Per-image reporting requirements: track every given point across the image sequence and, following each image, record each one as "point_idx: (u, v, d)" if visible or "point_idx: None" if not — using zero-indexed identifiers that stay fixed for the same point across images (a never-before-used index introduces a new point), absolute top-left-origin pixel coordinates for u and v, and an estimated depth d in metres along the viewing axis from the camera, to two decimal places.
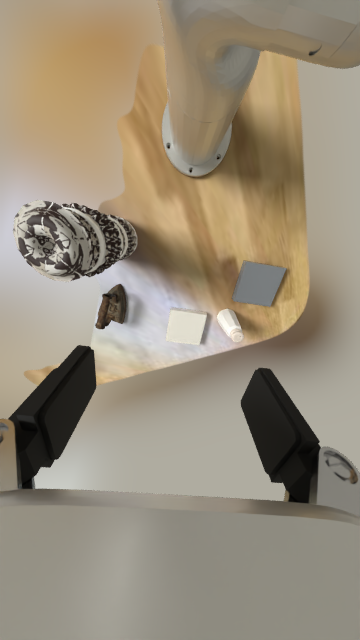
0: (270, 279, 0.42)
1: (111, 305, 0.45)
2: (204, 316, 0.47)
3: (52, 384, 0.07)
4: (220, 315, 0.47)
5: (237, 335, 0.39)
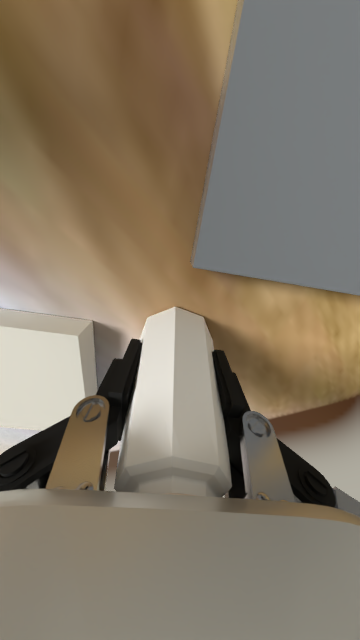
0: None
1: None
2: (68, 342, 0.10)
3: (125, 369, 0.08)
4: (141, 338, 0.11)
5: None
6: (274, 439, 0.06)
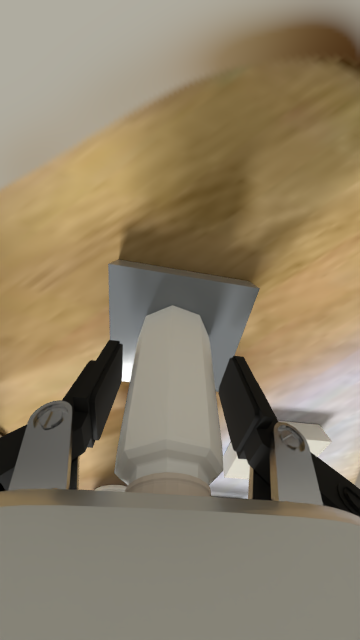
0: (154, 311, 0.12)
1: None
2: None
3: (96, 372, 0.07)
4: (140, 336, 0.12)
5: None
6: (308, 455, 0.06)
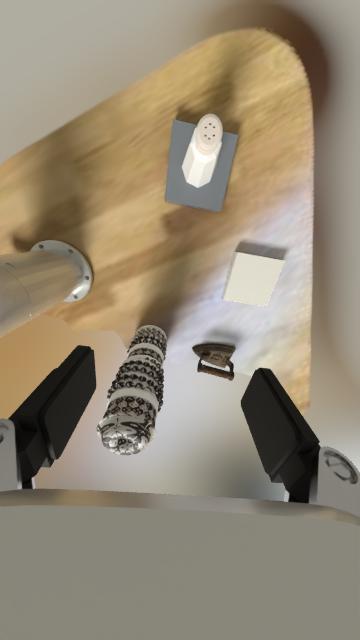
0: None
1: (213, 358, 0.45)
2: (239, 255, 0.34)
3: (52, 384, 0.07)
4: (185, 155, 0.26)
5: (208, 122, 0.18)
6: None
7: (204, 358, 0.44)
